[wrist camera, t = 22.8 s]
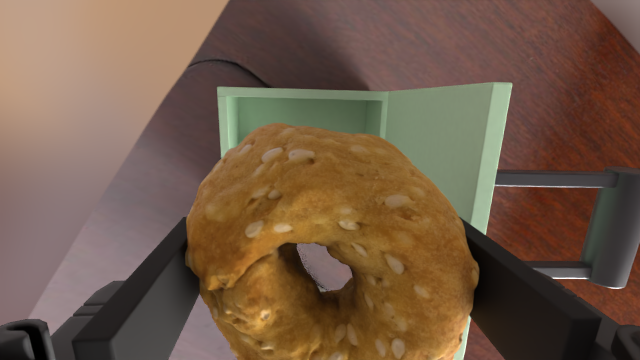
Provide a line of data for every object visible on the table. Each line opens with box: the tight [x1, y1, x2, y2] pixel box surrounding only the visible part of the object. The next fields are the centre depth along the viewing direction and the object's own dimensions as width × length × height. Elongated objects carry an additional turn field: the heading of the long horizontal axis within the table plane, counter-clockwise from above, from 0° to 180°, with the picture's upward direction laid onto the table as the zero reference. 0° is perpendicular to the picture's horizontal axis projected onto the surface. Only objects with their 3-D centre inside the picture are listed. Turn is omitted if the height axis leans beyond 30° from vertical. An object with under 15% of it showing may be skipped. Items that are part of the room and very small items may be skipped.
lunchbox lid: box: [385, 82, 640, 360], centre depth 22 cm, size 16×14×10 cm
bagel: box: [185, 123, 479, 360], centre depth 11 cm, size 10×11×5 cm
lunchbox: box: [217, 87, 389, 159], centre depth 32 cm, size 16×14×7 cm
